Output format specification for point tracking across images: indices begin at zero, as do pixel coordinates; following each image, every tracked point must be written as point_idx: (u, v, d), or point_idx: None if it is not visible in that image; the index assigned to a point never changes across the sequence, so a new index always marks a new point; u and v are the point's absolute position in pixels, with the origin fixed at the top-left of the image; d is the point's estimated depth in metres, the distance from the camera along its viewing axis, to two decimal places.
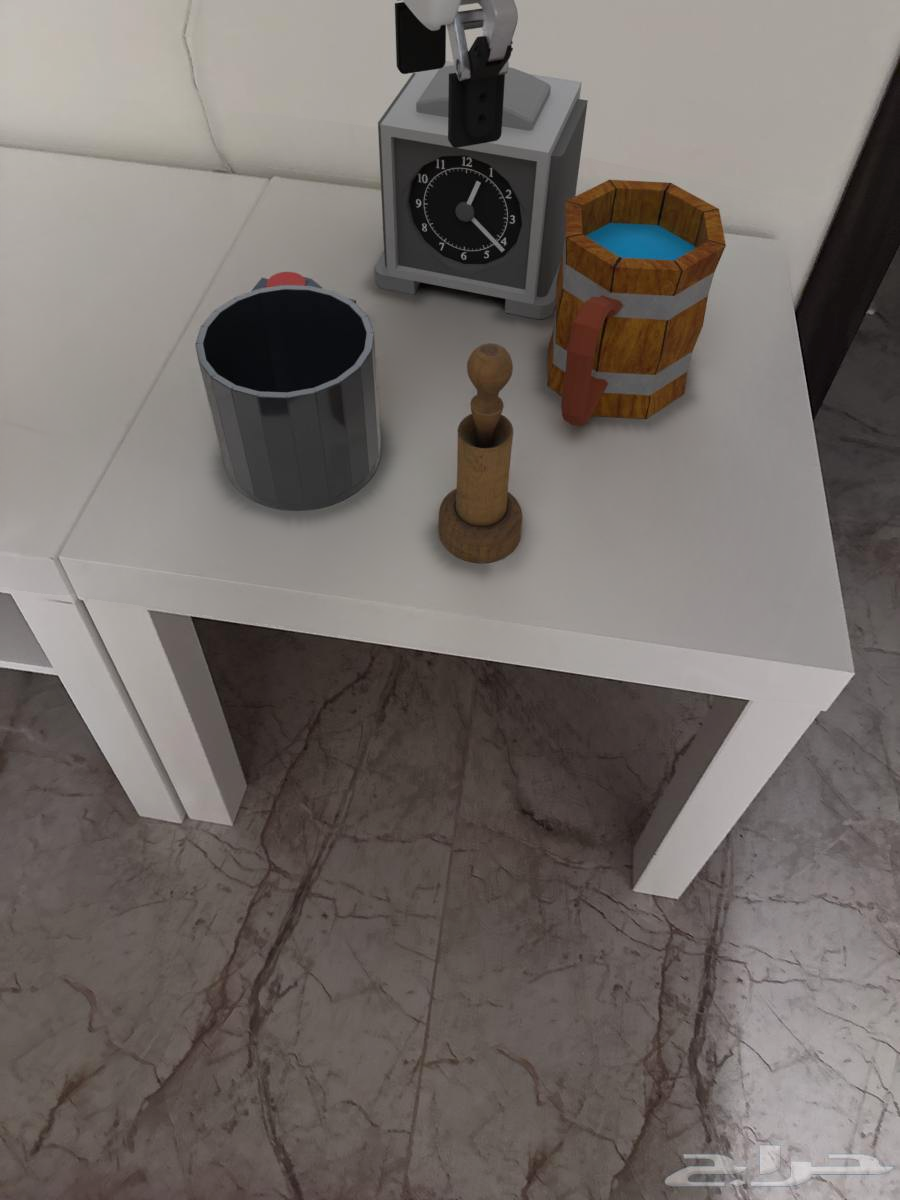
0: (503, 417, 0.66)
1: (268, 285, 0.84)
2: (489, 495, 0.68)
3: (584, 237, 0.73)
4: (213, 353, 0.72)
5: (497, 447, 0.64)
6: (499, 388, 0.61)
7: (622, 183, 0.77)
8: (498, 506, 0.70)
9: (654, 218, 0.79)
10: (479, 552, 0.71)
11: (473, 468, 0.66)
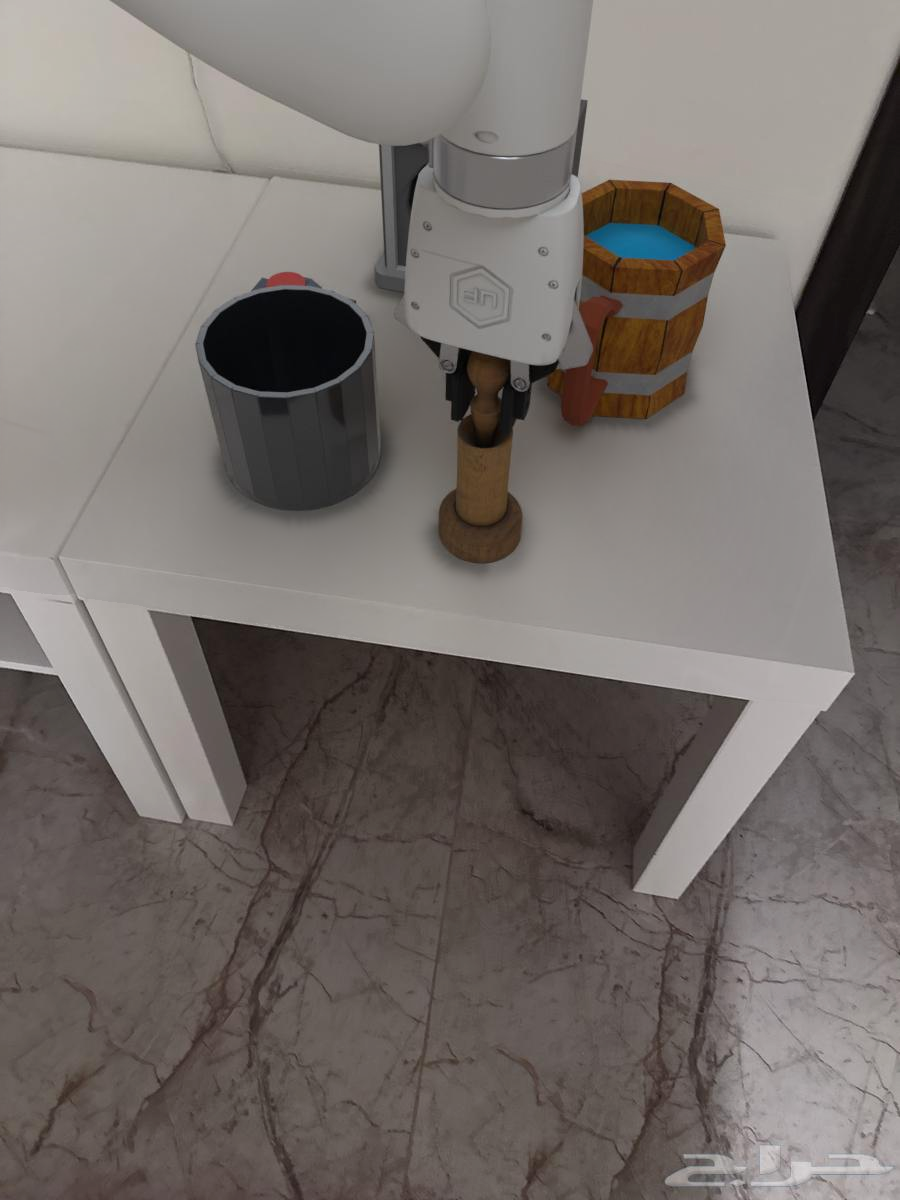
0: None
1: (268, 285, 0.84)
2: (489, 495, 0.68)
3: (584, 237, 0.73)
4: (213, 353, 0.72)
5: (497, 447, 0.64)
6: (499, 388, 0.61)
7: (622, 183, 0.77)
8: (498, 506, 0.70)
9: (654, 218, 0.79)
10: (479, 552, 0.71)
11: (473, 468, 0.66)
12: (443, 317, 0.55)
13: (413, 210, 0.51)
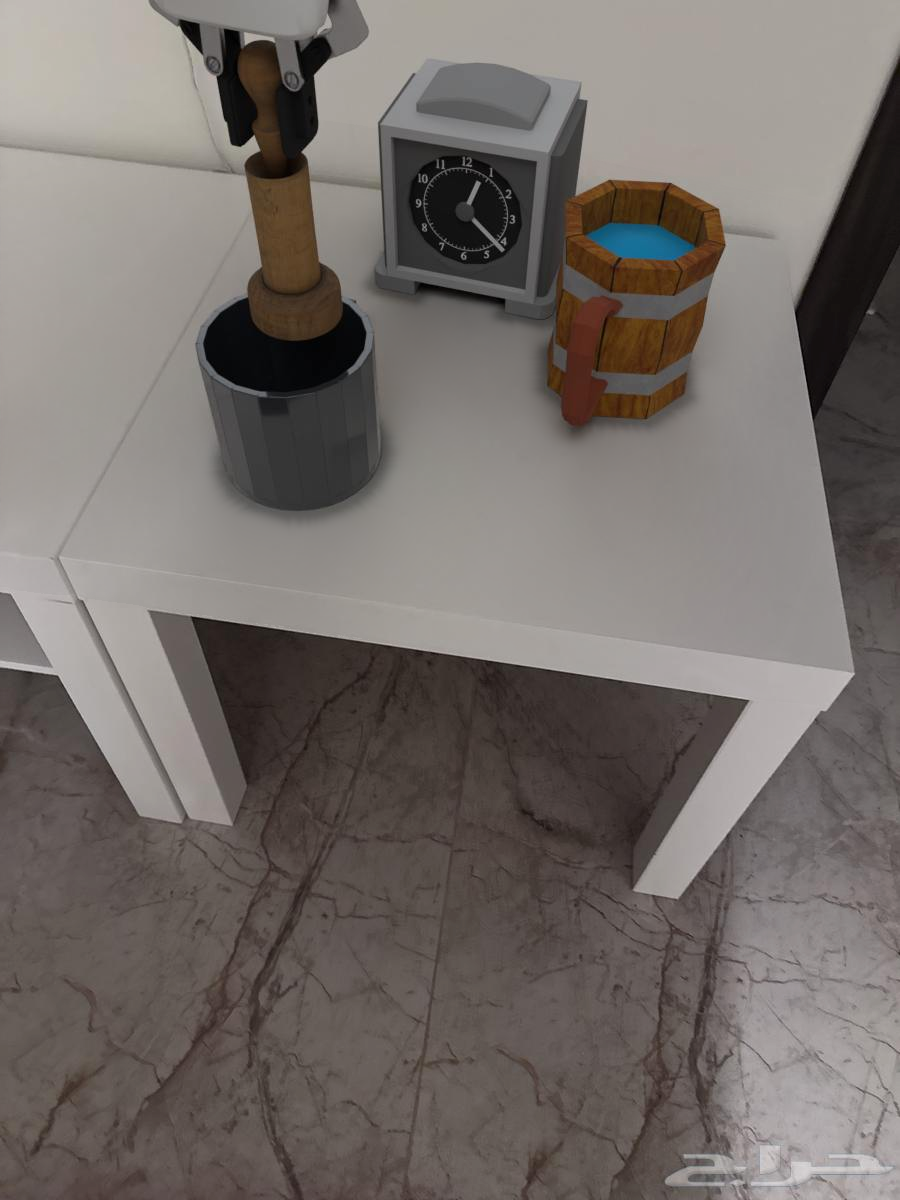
0: None
1: None
2: (289, 249, 0.60)
3: (584, 237, 0.73)
4: (213, 353, 0.72)
5: (286, 178, 0.57)
6: (274, 93, 0.53)
7: (622, 183, 0.77)
8: (305, 268, 0.62)
9: (654, 218, 0.79)
10: (287, 325, 0.64)
11: (264, 209, 0.58)
12: None
13: None
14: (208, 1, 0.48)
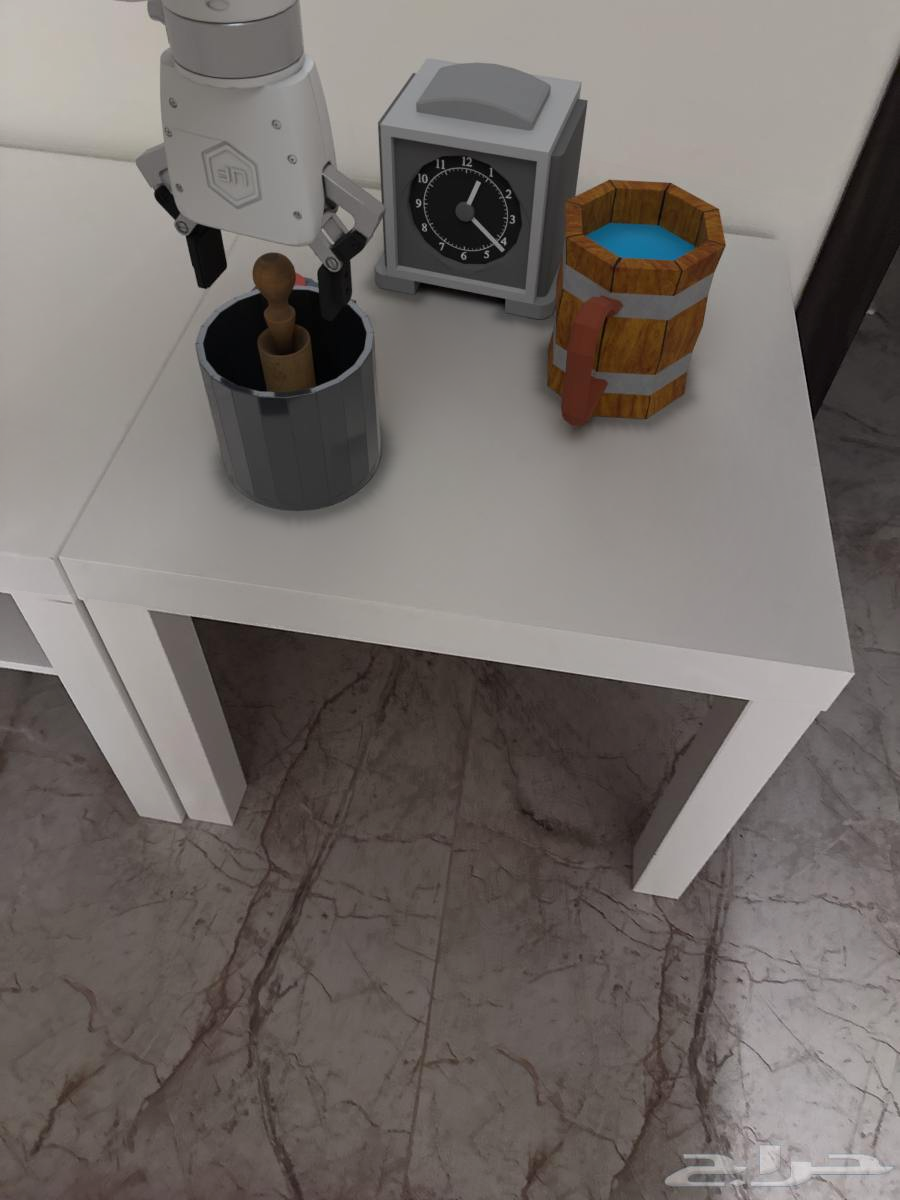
0: (302, 329, 0.70)
1: None
2: None
3: (584, 237, 0.73)
4: (213, 353, 0.72)
5: (292, 354, 0.69)
6: (283, 294, 0.65)
7: (622, 183, 0.77)
8: None
9: (654, 218, 0.79)
10: None
11: (274, 376, 0.70)
12: (205, 198, 0.58)
13: (160, 87, 0.54)
14: (223, 215, 0.59)
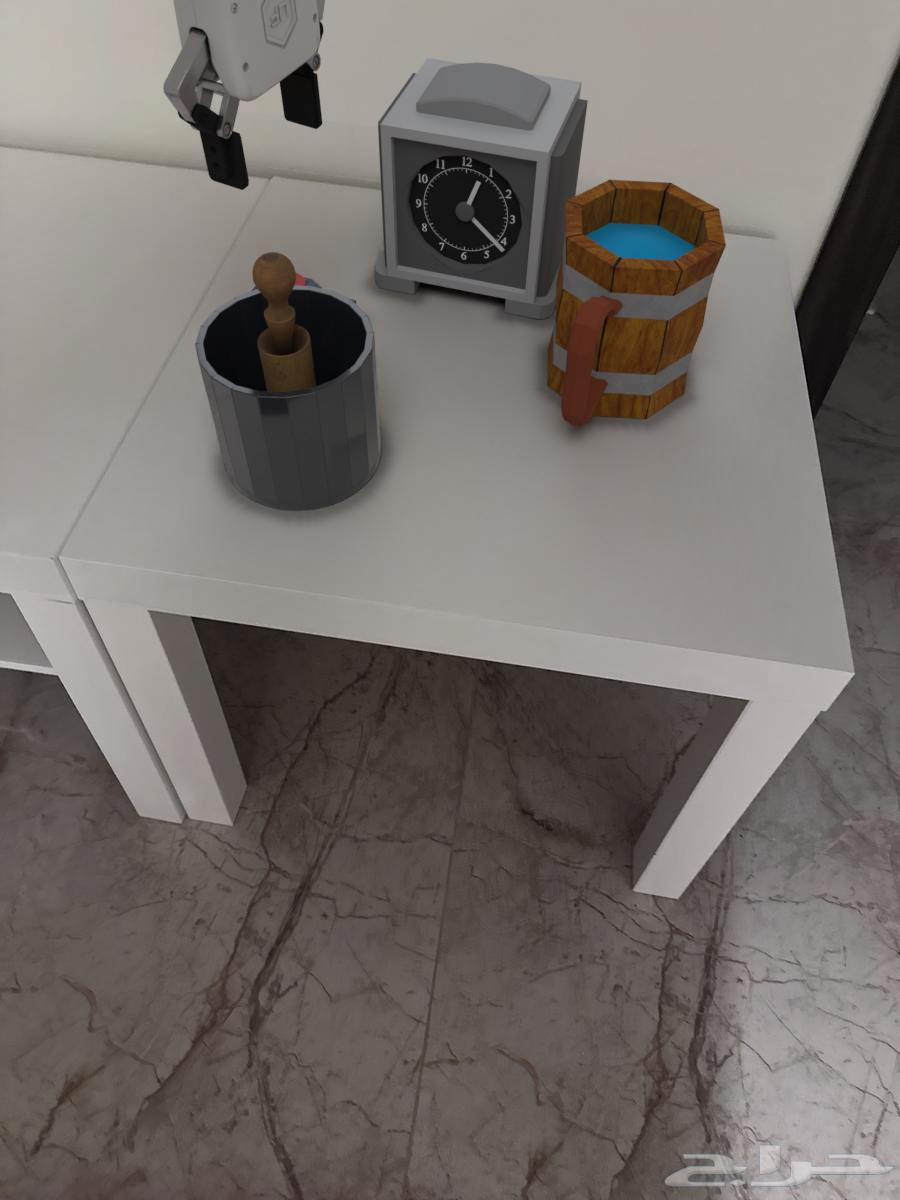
0: (302, 329, 0.70)
1: None
2: None
3: (584, 237, 0.73)
4: (213, 353, 0.72)
5: (292, 354, 0.69)
6: (283, 294, 0.65)
7: (622, 183, 0.77)
8: None
9: (654, 218, 0.79)
10: None
11: (274, 376, 0.70)
12: (264, 59, 0.62)
13: None
14: (276, 66, 0.63)
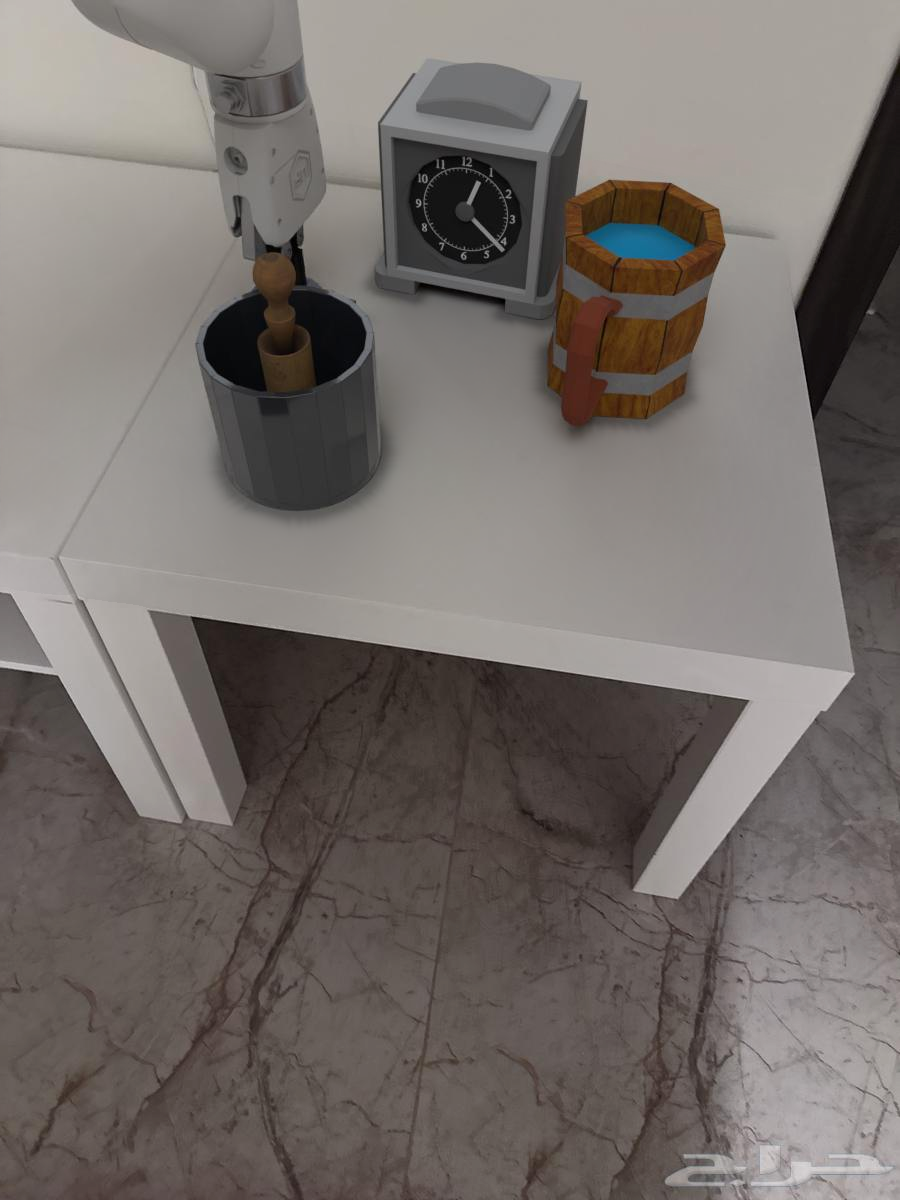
0: (302, 329, 0.70)
1: None
2: None
3: (584, 237, 0.73)
4: (213, 353, 0.72)
5: (292, 354, 0.69)
6: (283, 294, 0.65)
7: (622, 183, 0.77)
8: None
9: (654, 218, 0.79)
10: None
11: (274, 376, 0.70)
12: (291, 213, 0.76)
13: (261, 151, 0.70)
14: (299, 215, 0.77)
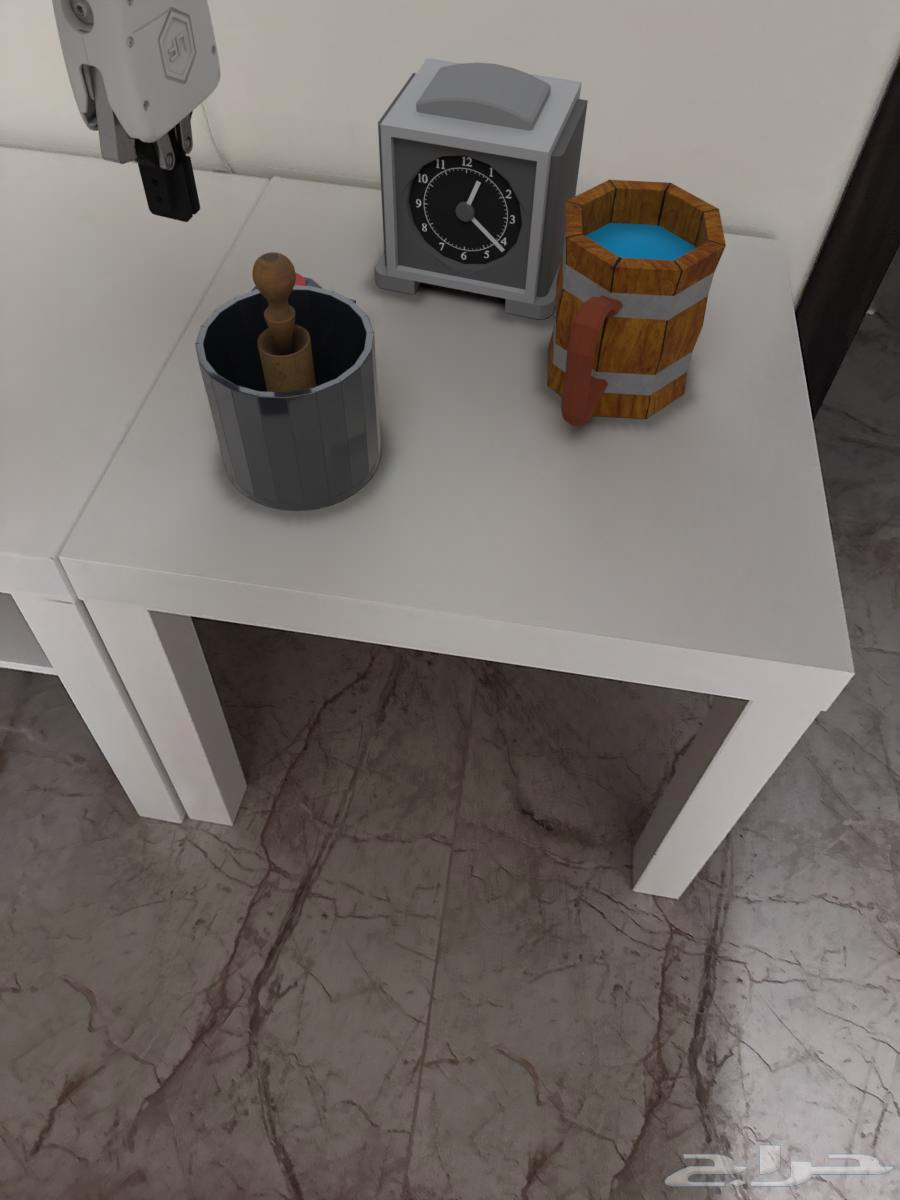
0: (302, 329, 0.70)
1: None
2: None
3: (584, 237, 0.73)
4: (213, 353, 0.72)
5: (292, 354, 0.69)
6: (283, 294, 0.65)
7: (622, 183, 0.77)
8: None
9: (654, 218, 0.79)
10: None
11: (274, 376, 0.70)
12: (165, 96, 0.56)
13: None
14: (178, 103, 0.58)
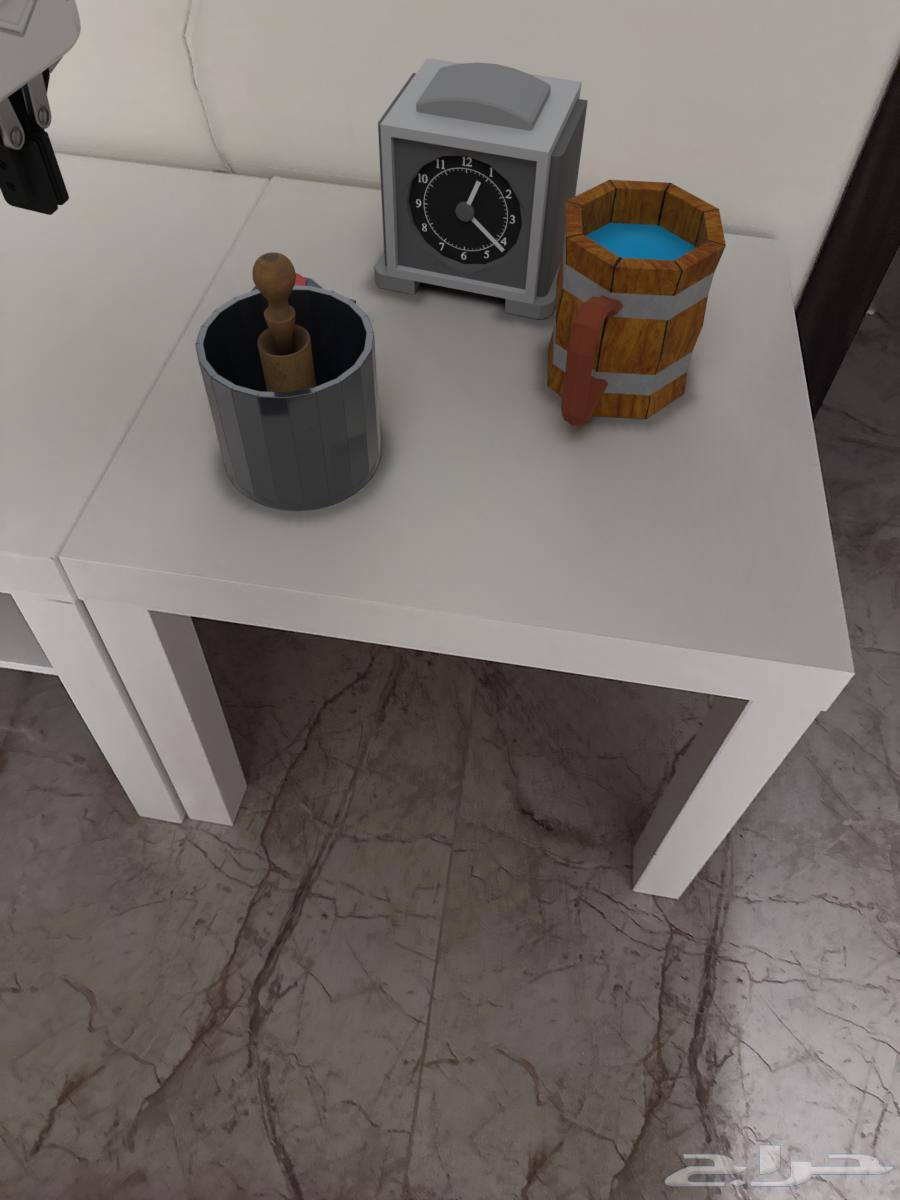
0: (302, 329, 0.70)
1: None
2: None
3: (584, 237, 0.73)
4: (213, 353, 0.72)
5: (292, 354, 0.69)
6: (283, 294, 0.65)
7: (622, 183, 0.77)
8: None
9: (654, 218, 0.79)
10: None
11: (274, 376, 0.70)
12: None
13: None
14: (14, 62, 0.45)
